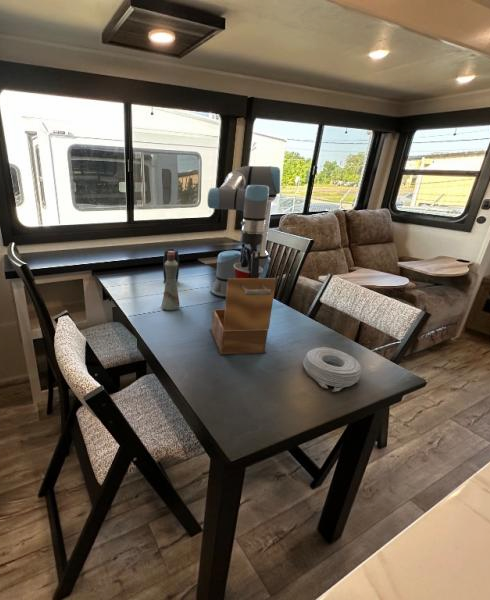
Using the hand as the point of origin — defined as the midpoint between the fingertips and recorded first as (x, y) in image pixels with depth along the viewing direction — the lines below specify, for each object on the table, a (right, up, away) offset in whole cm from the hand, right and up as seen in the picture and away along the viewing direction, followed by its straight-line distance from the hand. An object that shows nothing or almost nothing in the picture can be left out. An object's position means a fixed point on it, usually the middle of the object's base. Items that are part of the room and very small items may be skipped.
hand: (245, 291), depth 117 cm
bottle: (-29, -7, +35) cm, 46 cm away
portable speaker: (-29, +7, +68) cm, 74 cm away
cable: (+26, -28, -12) cm, 40 cm away
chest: (-2, -20, +7) cm, 21 cm away
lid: (-1, -5, -9) cm, 10 cm away
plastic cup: (0, -2, +1) cm, 2 cm away
